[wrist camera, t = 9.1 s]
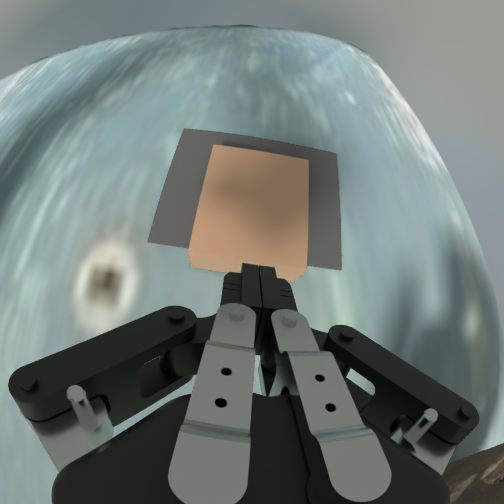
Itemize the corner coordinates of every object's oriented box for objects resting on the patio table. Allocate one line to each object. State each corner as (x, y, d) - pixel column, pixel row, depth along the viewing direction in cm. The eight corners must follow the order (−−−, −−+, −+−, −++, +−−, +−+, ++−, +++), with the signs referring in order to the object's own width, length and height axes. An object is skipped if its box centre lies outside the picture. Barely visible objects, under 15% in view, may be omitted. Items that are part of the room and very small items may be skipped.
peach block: (188, 251, 24) (213, 144, 28) (191, 267, 27) (213, 168, 32) (306, 268, 24) (308, 160, 29) (294, 282, 28) (299, 182, 33)
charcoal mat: (148, 242, 28) (147, 240, 28) (184, 130, 34) (183, 128, 34) (340, 270, 29) (341, 269, 29) (335, 155, 36) (336, 153, 35)
